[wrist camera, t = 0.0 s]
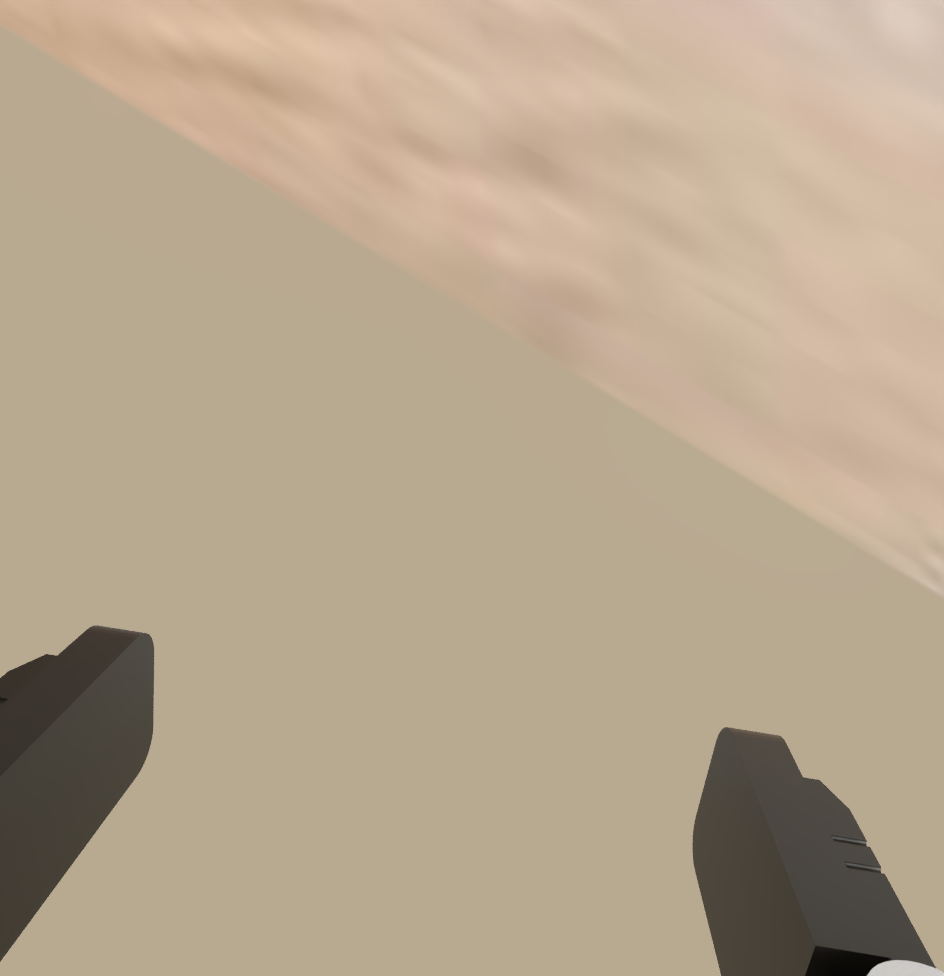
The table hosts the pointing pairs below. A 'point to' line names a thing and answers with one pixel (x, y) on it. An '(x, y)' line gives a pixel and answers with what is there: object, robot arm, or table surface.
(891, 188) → the table surface
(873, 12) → the table surface
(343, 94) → the table surface
